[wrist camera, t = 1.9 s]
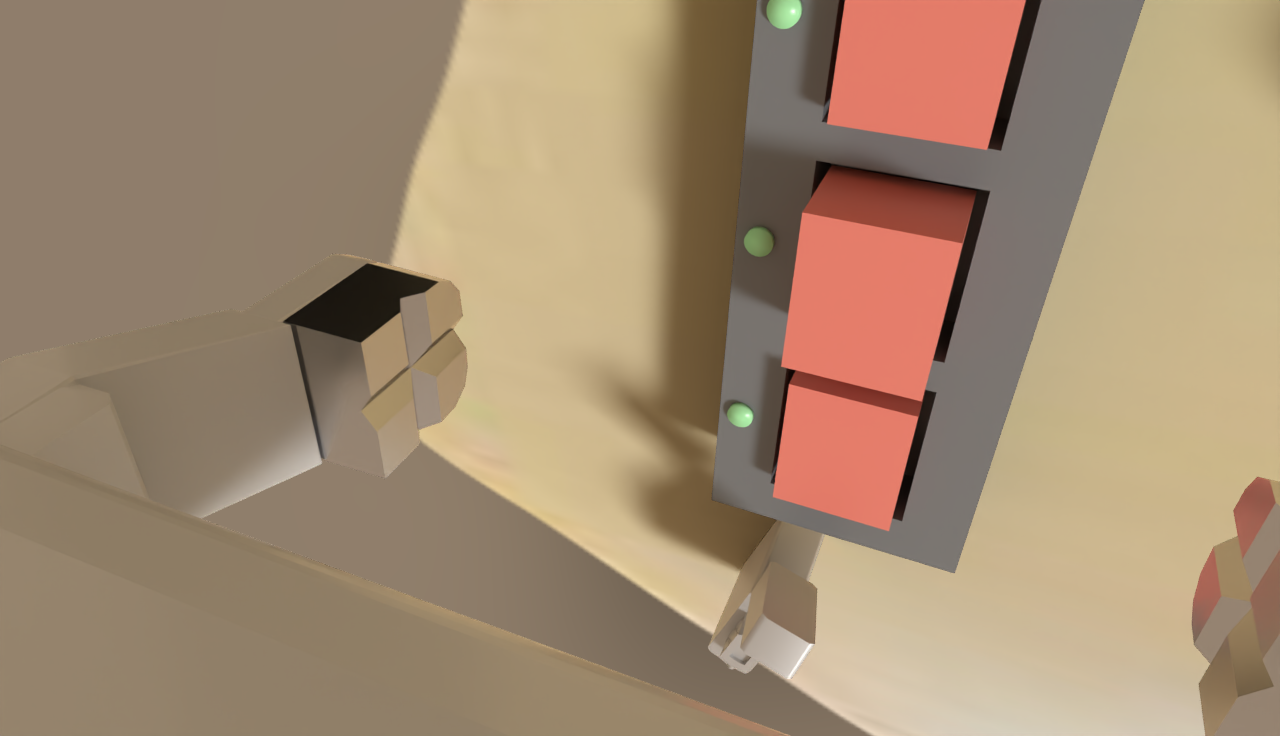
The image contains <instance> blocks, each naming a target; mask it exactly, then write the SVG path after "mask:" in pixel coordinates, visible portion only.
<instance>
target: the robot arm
mask: <svg viewBox="0 0 1280 736" xmlns="http://www.w3.org/2000/svg"><path fill="white" fill-rule="evenodd" d="M462 316H463V313H462V306H461V299H460V292H459V290H458V289H457V288H456V287H455V286H454V285H453V284H452V282H451V281H449V280H445V279H441V278H437V277H434V276H430V275H426V274H422V273H418V272H415V271H411V270H407V269H403V268H400V267H396V266H392V265H388V264H384V263H377V262H375V261H374V260H369V259H365V258H361V257H356V256H352V255H347V254H332V255H330V256H329V257H327V258H326V259H324V260H322V261H321V262H319V263H318V264H316V265H315V266H313V267H311V268H310V269H308V270H307V271H305V272H304V273H302V274H300V275H299V276H297V277H296V278H295V279H293V280H291V281H289V282H288V283H286V284H285V285H283V286H282V287H280V288H278V289H277V290H275V291H274V292H272V293H271V294H269V295H268V296H266V297H264V298H263V299H261V300H260V301H258V302H257V303H255V304H253V305H252V306H250V307H249V308H247V309H245V310H244V311H238V310H234V309H229V310H224V311H219V312H215V313H210V314H206V315H201V316H196V317H192V318H188V319H183V320H178V321H174V322H169V323H165V324H160V325H156V326H151V327H147V328H142V329H137V330H133V331H129V332H124V333H119V334H115V335H110V336H106V337H101V338H97V339H92V340H88V341H83V342H78V343H74V344H69V345H65V346H61V347H56V348H51V349H47V350H43V351H38V352H33V353H29V354H24V355H20V356H15V357H10V358H8V359H6V360H5V361H3V362H1V363H0V736H790V735H787V734H785V733H782V732H779V731H776V730H773V729H771V728H768V727H766V726H763V725H760V724H758V723H755V722H752V721H749V720H747V719H744V718H741V717H738V716H736V715H733V714H730V713H727V712H725V711H722V710H719V709H717V708H714V707H711V706H709V705H706V704H703V703H701V702H698V701H695V700H692V699H690V698H687V697H684V696H681V695H679V694H676V693H673V692H671V691H668V690H665V689H662V688H660V687H657V686H654V685H652V684H649V683H646V682H643V681H641V680H638V679H635V678H633V677H630V676H627V675H624V674H621V673H619V672H616V671H613V670H611V669H608V668H605V667H602V666H600V665H597V664H595V663H592V662H589V661H586V660H583V659H581V658H578V657H576V656H572V655H570V654H567V653H565V652H562V651H559V650H556V649H554V648H551V647H548V646H545V645H543V644H540V643H537V642H535V641H532V640H529V639H526V638H523V637H521V636H518V635H516V634H513V633H510V632H508V631H505V630H502V629H499V628H497V627H494V626H491V625H488V624H486V623H483V622H480V621H478V620H475V619H472V618H469V617H467V616H464V615H461V614H459V613H456V612H453V611H451V610H448V609H445V608H442V607H440V606H437V605H434V604H431V603H429V602H426V601H423V600H421V599H418V598H415V597H412V596H410V595H407V594H404V593H402V592H399V591H396V590H393V589H391V588H388V587H385V586H383V585H380V584H377V583H375V582H372V581H369V580H366V579H363V578H361V577H358V576H356V575H353V574H350V573H347V572H345V571H342V570H339V569H337V568H334V567H331V566H328V565H326V564H323V563H320V562H317V561H315V560H312V559H309V558H307V557H304V556H301V555H298V554H295V553H293V552H290V551H288V550H285V549H282V548H279V547H277V546H274V545H271V544H269V543H266V542H263V541H260V540H258V539H255V538H252V537H250V536H247V535H244V534H242V533H239V532H236V531H233V530H231V529H228V528H225V527H222V526H220V525H217V524H214V523H212V522H209V521H206V520H204V519H201V518H203V517H205V516H208V515H210V514H212V513H214V512H216V511H219V510H221V509H223V508H225V507H227V506H230V505H232V504H234V503H236V502H238V501H240V500H243V499H245V498H247V497H250V496H252V495H254V494H256V493H258V492H260V491H262V490H264V489H267V488H269V487H272V486H273V485H275V484H278V483H280V482H283V481H285V480H287V479H289V478H291V477H294V476H296V475H298V474H300V473H302V472H305V471H307V470H309V469H311V468H313V467H316V466H318V465H320V464H321V463H322V460H324V461H327V462H330V463H334V464H337V465H340V466H344V467H348V468H351V469H354V470H358V471H361V472H364V473H368V474H371V475H375V476H378V477H381V478H386V477H387V476H388V475H389V474H390V473H391V472H392V471H393V470H394V469H395V468H396V467H397V466H398V465H399V464H400V463H401V462H402V461H403V460H404V459H405V458H406V457H407V456H408V455H409V454H410V453H411V452H412V451H413V450H414V449H415V448H416V447H417V446H418V445H419V444H420V442H419V429H422V428H425V427H428V426H431V425H434V424H437V423H439V422H442V421H443V420H444V419H445V418H446V416H447V415H448V414H449V413H450V412H451V411H452V410H453V409H454V408H455V406H456V404H457V402H458V400H459V398H460V395H461V393H462V391H463V389H464V387H465V382H466V375H467V367H468V365H467V353H466V347H465V346H464V344H463V343H462V341H461V340H460V338H459V337H458V336H457V334H456V333H455V331H454V330H453V329H454V327H455V326H456V324H457V323H458V322H459V320H460V319H461V318H462ZM1233 511H1234V517H1235V522H1236V528H1237V533H1238V536H1237V537H1234V538H1232V539H1230V540H1228V541H1225V542H1223V543H1221V544H1219V545H1216V546H1214V547H1213V549H1212V551H1211V553H1210V555H1209V557H1208V559H1207V561H1206V563H1205V565H1204V567H1203V570H1202V572H1201V574H1200V577H1199V581H1198V585H1197V589H1196V592H1195V596H1194V600H1193V612H1192V630H1193V640H1194V645H1195V647H1196V648H1197V649H1198V650H1199V651H1200V652H1201V653H1202V655H1203V656H1204V657H1205V658H1206V659H1207V660H1208V662H1209V663H1210V665H1209V667H1208V669H1207V671H1206V672H1205V674H1204V676H1203V677H1202V679H1201V681H1200V683H1199V690H1200V698H1201V705H1202V713H1203V721H1204V728H1205V736H1280V482H1278V481H1274V480H1270V479H1265V478H1261V477H1257V478H1256V479H1255V480H1254V481H1253V482H1252V483H1251V484H1250V485H1249V486H1248V487H1247V488H1246V489H1245V491H1244V493H1243V494H1242V496H1241V498H1240V500H1239V502H1238V503H1237V505H1236V507H1235V509H1234V510H1233Z"/></svg>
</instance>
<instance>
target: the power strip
mask: <svg viewBox="0 0 1280 736" xmlns="http://www.w3.org/2000/svg"><path fill="white" fill-rule="evenodd" d="M1144 1H1145V0H1026V4H1025V8H1024V12H1023V16H1022V20H1021V24H1020V27H1019V31H1018V35H1017V39H1016V43H1015V47H1014V51H1013V55H1012V58H1011V62H1010V66H1009V70H1008V74H1007V78H1006V82H1005V85H1004V89H1003V93H1002V97H1001V101H1000V105H999V109H998V112H997V116H996V119H995V123H994V127H993V130H992V134H991V138H990V141H989V145H988V148H987V150H984V149H978V148H972V147H966V146H960V145H954V144H947V143H941V142H935V141H929V140H923V139H916V138H910V137H904V136H898V135H892V134H885V133H879V132H873V131H867V130H861V129H855V128H848V127H842V126H836V125H830V124H827V121H828V114H829V107H830V100H831V93H832V86H833V80H834V73H835V66H836V59H837V52H838V45H839V38H840V31H841V25H842V18H843V11H844V4H845V0H757V7H756V18H755V29H754V40H753V51H752V62H751V73H750V84H749V95H748V106H747V117H746V128H745V139H744V150H743V161H742V172H741V183H740V194H739V205H738V216H737V227H736V238H735V248H734V259H733V270H732V281H731V292H730V303H729V314H728V325H727V336H726V347H725V358H724V369H723V380H722V391H721V402H720V413H719V424H718V435H717V446H716V457H715V468H714V479H713V490H712V500H713V501H717V502H720V503H723V504H727V505H730V506H733V507H737V508H740V509H743V510H746V511H750V512H753V513H756V514H760V515H763V516H766V517H770V518H773V519H776V520H780V521H783V522H786V523H789V524H793V525H796V526H799V527H803V528H806V529H809V530H813V531H816V532H819V533H823V534H826V535H829V536H832V537H836V538H839V539H842V540H846V541H849V542H852V543H856V544H859V545H862V546H866V547H869V548H872V549H875V550H879V551H882V552H885V553H889V554H892V555H895V556H899V557H902V558H905V559H909V560H912V561H915V562H919V563H922V564H925V565H928V566H932V567H935V568H938V569H942V570H945V571H948V572H952V573H955V571H956V568H957V565H958V562H959V558H960V555H961V552H962V549H963V546H964V543H965V540H966V537H967V534H968V531H969V528H970V525H971V522H972V519H973V516H974V513H975V510H976V507H977V504H978V501H979V498H980V495H981V492H982V489H983V486H984V483H985V480H986V477H987V474H988V471H989V468H990V465H991V462H992V459H993V456H994V453H995V450H996V447H997V444H998V441H999V438H1000V435H1001V432H1002V429H1003V426H1004V423H1005V420H1006V417H1007V414H1008V411H1009V408H1010V405H1011V402H1012V399H1013V396H1014V393H1015V390H1016V387H1017V384H1018V381H1019V378H1020V375H1021V371H1022V368H1023V365H1024V362H1025V359H1026V356H1027V353H1028V350H1029V347H1030V344H1031V341H1032V338H1033V335H1034V332H1035V329H1036V326H1037V323H1038V320H1039V317H1040V314H1041V311H1042V308H1043V305H1044V302H1045V299H1046V296H1047V293H1048V290H1049V287H1050V284H1051V281H1052V278H1053V275H1054V272H1055V269H1056V266H1057V263H1058V260H1059V257H1060V254H1061V251H1062V248H1063V245H1064V242H1065V239H1066V236H1067V233H1068V230H1069V227H1070V224H1071V221H1072V218H1073V215H1074V212H1075V209H1076V206H1077V203H1078V200H1079V197H1080V194H1081V191H1082V188H1083V185H1084V181H1085V178H1086V175H1087V172H1088V169H1089V166H1090V163H1091V160H1092V157H1093V154H1094V151H1095V148H1096V145H1097V142H1098V139H1099V136H1100V133H1101V130H1102V127H1103V124H1104V121H1105V118H1106V115H1107V112H1108V109H1109V106H1110V103H1111V100H1112V97H1113V94H1114V91H1115V88H1116V85H1117V82H1118V79H1119V76H1120V73H1121V70H1122V67H1123V64H1124V61H1125V58H1126V55H1127V52H1128V49H1129V46H1130V43H1131V40H1132V37H1133V34H1134V31H1135V28H1136V25H1137V22H1138V19H1139V16H1140V13H1141V10H1142V7H1143V4H1144ZM831 165H834V166H839V167H845V168H851V169H857V170H862V171H868V172H874V173H879V174H885V175H891V176H896V177H902V178H908V179H914V180H919V181H925V182H931V183H936V184H942V185H948V186H954V187H959V188H965V189H971V190H976V191H977V193H976V196H975V200H974V204H973V208H972V212H971V216H970V220H969V224H968V227H967V231H966V235H965V239H964V243H963V247H962V251H961V255H960V258H959V262H958V266H957V270H956V274H955V278H954V282H953V286H952V289H951V293H950V297H949V301H948V305H947V309H946V313H945V317H944V320H943V324H942V328H941V332H940V336H939V340H938V344H937V347H936V351H935V355H934V358H933V362H932V366H931V369H930V373H929V377H928V381H927V384H926V388H925V390H926V391H925V395H924V399H923V403H922V407H921V411H920V415H919V418H918V422H917V426H916V430H915V434H914V438H913V442H912V446H911V449H910V453H909V457H908V461H907V465H906V469H905V473H904V476H903V480H902V484H901V488H900V491H899V495H898V499H897V502H896V506H895V510H894V514H893V517H892V521H891V525H890V529H889V531H887V530H883V529H880V528H876V527H873V526H870V525H866V524H863V523H859V522H856V521H853V520H849V519H846V518H842V517H839V516H836V515H832V514H829V513H825V512H822V511H819V510H815V509H812V508H808V507H805V506H802V505H798V504H795V503H792V502H788V501H785V500H781V499H778V498H775V497H773V492H774V485H775V478H776V471H777V464H778V457H779V450H780V443H781V437H782V430H783V423H784V416H785V409H786V402H787V395H788V389H789V383H790V381H791V379H792V377H793V375H794V373H795V371H796V370H793V369H789V368H785V367H781V364H782V357H783V350H784V342H785V335H786V328H787V320H788V313H789V306H790V298H791V291H792V284H793V277H794V269H795V262H796V255H797V247H798V240H799V233H800V226H801V218H802V212H803V211H804V209H805V207H806V206H807V204H808V202H809V201H810V199H811V198H812V196H813V194H814V193H815V191H816V190H817V188H818V186H819V185H820V183H821V182H822V180H823V178H824V177H825V175H826V174H827V172H828V170H829V169H830V167H831Z"/></svg>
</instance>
